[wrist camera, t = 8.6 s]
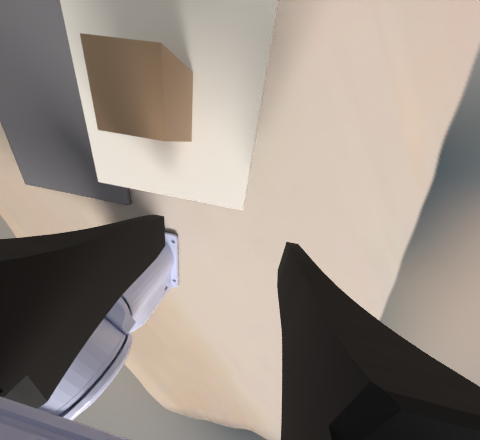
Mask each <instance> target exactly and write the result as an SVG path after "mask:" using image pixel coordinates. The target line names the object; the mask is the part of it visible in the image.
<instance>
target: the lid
mask: <svg viewBox="0 0 480 440" xmlns="http://www.w3.org/2000/svg"><path fill="white" fill-rule="evenodd" d="M60 3H61V8H62V13H63V18H64V22H65V27H66V32H67V36H68V41H69V46H70V51H71V55H72V60H73V65H74V70H75V74H76V79H77V84H78V88H79V93H80V98H81V103H82V107H83V112H84V117H85V121H86V126H87V131H88V136H89V140H90V145H91V150H92V155H93V159H94V164H95V169H96V173H97V178H98V182H101V183H106V184H111V185H116V186H121V187H126V188H131V189H136V190H141V191H146V192H151V193H156V194H162V195H167V196H172V197H177V198H182V199H187V200H192V201H197V202H202V203H207V204H212V205H217V206H222V207H227V208H232V209H237V210H242V211H243V209H244V206H245V200H246V194H247V188H248V182H249V176H250V170H251V164H252V158H253V152H254V146H255V140H256V134H257V128H258V122H259V116H260V110H261V104H262V98H263V92H264V87H265V81H266V75H267V69H268V63H269V57H270V51H271V45H272V39H273V33H274V27H275V21H276V15H277V9H278V3H279V0H60Z"/></svg>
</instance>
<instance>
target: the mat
mask: <svg viewBox="0 0 480 440" xmlns="http://www.w3.org/2000/svg"><path fill="white" fill-rule="evenodd" d="M0 122H1V124H2V127H3V129H4V132H5V134H6V137H7V139H8V142H9V144H10V147H11V149H12V152H13V154H14V157H15V159H16V162H17V164H18V167H19V169H20V172H21V174H22V177H23V179H24V182H25V184H27V185H32V186H37V187H42V188H47V189H52V190H57V191H61V192H66V193H71V194H76V195H81V196H86V197H91V198H96V199H101V200H106V201H110V202H115V203H120V204H125V205H130V204H131V200H130V193H129V188H126V187H121V186H116V185H111V184H106V183H101V182H98V178H97V173H96V169H95V164H94V159H93V155H92V150H91V145H90V140H89V136H88V131H87V126H86V121H85V117H84V112H83V107H82V103H81V98H80V93H79V88H78V84H77V79H76V74H75V70H74V65H73V60H72V55H71V51H70V46H69V41H68V36H67V32H66V27H65V22H64V18H63V13H62V8H61V3H60V0H0Z"/></svg>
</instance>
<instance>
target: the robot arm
mask: <svg viewBox="0 0 480 440" xmlns="http://www.w3.org/2000/svg"><path fill="white" fill-rule="evenodd" d="M173 240H174V241H175V242H174V241H173ZM178 285H179V278H178V237H177V235H176V234H172V233H167V232H165V228H164V216H159V215H147V216H142V217H138V218H133V219H129V220H125V221H121V222H117V223H112V224H108V225H103V226H98V227H94V228H89V229H84V230H78V231H72V232H65V233H59V234H51V235H42V236H32V237H23V238H13V239H0V440H130V439H127V438H124V437H121V436H118V435H115V434H112V433H109V432H106V431H103V430H100V429H97V428H94V427H91V426H88V425H84V424H82V423H78V422H76V421H73V419H74V418H76V417H77V415H79V414H80V413H81V412H83V411H84V410H85V409H86V408H88V407H89V406H90V405H91V404H92V403H93V402H94V401H95V400H96V399H97V398H98V397H99V396H100V395H101V394H102V393H103V391H104V390H105V389H106V388H107V387H108V386H109V384H110V383H111V382H112V380H113V379H114V378H115V376H116V375H117V373H118V372H119V371H120V369H121V367H122V366H123V364H124V363H125V361H126V359H127V357H128V355H129V352H130V348H131V344H132V335H131V334H130V333H131V332H133V331H135V330H136V329H138V328H139V327H141V326H142V325H143V324H144V323H145V322H146V321H147V320H148V319H149V318H150V316H151V315H152V313H153V312H154V311H155V309H156V308H157V306H158V305H159V303H160V302H161V300H162V299H163V297H164V296H165V295H166V293H167V292H168V290H169V289H170V287H174V288H177V287H178ZM277 288H278V298H279V308H280V318H281V327H282V425H281V440H480V387H479V386H478V385H476V384H474V383H473V382H471V381H470V380H468V379H466V378H465V377H463V376H461V375H460V374H458V373H457V372H455V371H453V370H452V369H450V368H449V367H447V366H445V365H444V364H442V363H440V362H439V361H437V360H436V359H434V358H432V357H431V356H429V355H428V354H426V353H425V352H423V351H421V350H420V349H419V348H417V347H416V346H414V345H413V344H411V343H409V342H408V341H407V340H405V339H404V338H402V337H401V336H399V335H398V334H397V333H395V332H394V331H392V330H391V329H390V328H388V327H387V326H385V325H384V324H383V323H381V322H380V321H379V320H377V319H376V318H375V317H373V316H372V315H371V314H370V313H368V312H367V311H366V310H364V309H363V308H362V307H361V306H359V305H358V304H357V303H356V302H355V301H353V300H352V299H351V298H350V297H349V296H348V295H346V294H345V293H344V292H343V291H342V290H341V289H340V288H339V287H337V286H336V285H335V284H334V283H333V282H332V281H331V280H330V279H329V278H328V277H327V276H326V275H325V274H324V273H323V272H322V271H321V269H320V268H319V267H318V266H317V265H316V264H315V263H314V262H313V261H312V259H311V258H310V257H309V256H308V255H307V254H306V253H305V251H304V250H303V249H302V248H301V247H300V246H299V245H298V244H294V243H290V242H287V243H286V246H285V249H284V252H283V256H282V259H281V262H280V265H279V269H278V283H277Z"/></svg>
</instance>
